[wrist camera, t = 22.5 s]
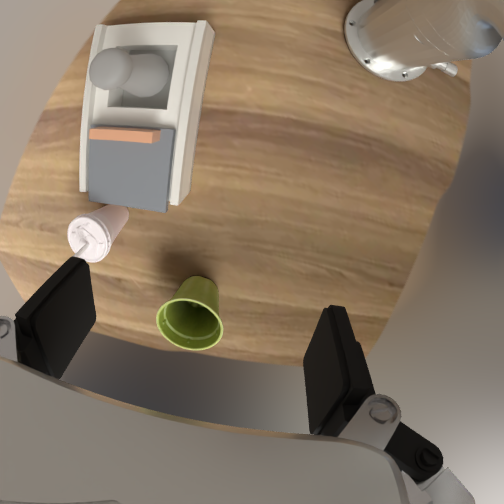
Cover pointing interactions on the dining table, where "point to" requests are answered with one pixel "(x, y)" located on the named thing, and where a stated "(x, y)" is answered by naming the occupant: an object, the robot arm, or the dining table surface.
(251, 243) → the dining table surface
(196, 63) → the socket block
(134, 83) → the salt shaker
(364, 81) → the dining table surface
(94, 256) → the smoothie
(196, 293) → the plant pot
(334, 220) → the dining table surface
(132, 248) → the dining table surface
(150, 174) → the shutter
